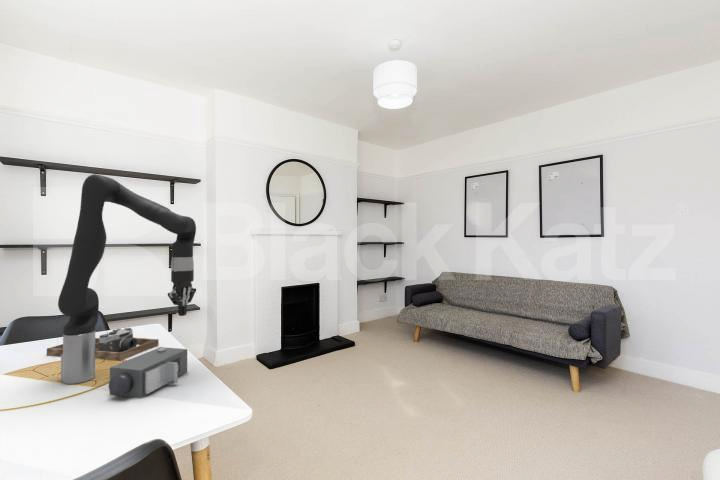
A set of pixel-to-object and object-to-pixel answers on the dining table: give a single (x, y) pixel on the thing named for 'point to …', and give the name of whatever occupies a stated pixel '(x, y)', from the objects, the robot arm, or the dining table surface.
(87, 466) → the dining table surface
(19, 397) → the dining table surface
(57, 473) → the dining table surface
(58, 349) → the charger corral
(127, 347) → the camera
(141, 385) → the camera housing
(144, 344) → the camera corral
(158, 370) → the battery door
